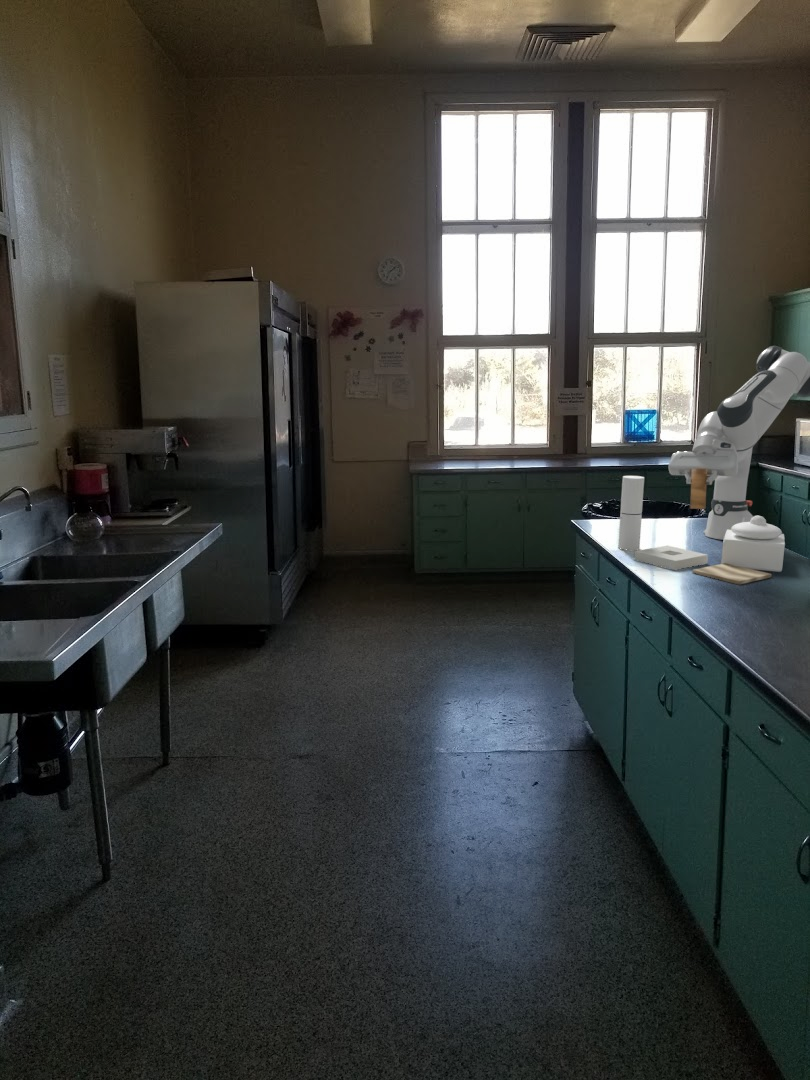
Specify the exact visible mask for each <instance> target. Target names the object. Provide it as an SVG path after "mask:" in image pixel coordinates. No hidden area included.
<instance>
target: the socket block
mask: <svg viewBox="0 0 810 1080" xmlns="http://www.w3.org/2000/svg"><path fill="white" fill-rule="evenodd" d="M708 558H709V554H707V553H701V552H698V551H694V550H689V549H684V548H680V547H676V546H671V545H663V546H657V547H652V548H650V547H649V548H645V549H639V550H635V551H634V561H636V560H638V561H637V562H640V561H641V563H644V562H645V564H648V563H649V565H652V564H654V565H653V566H656V565H657V567H660V566H662V567H661V568H664V567H666V568H665V569H668V568H670V569H669V570H671V569H673V570H672V571H677V570H676V569H679V570H682V569H681V568H684V569H687V568H686V567H689V568H693V567H692V566H694V567H698V565H699V566H703V565H708V562H709V561H708Z"/></svg>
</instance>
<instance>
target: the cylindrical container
mask: <svg viewBox="0 0 810 1080" xmlns="http://www.w3.org/2000/svg"><path fill="white" fill-rule="evenodd" d="M621 482H622V483H621V498H620V512H619V513H620V516H619V530H618V545H617V548H618V549H619V548H621V549H620V550H622V549H627V550H626V551H628V550H635V551H638V550H637V549H639V550H640V545H641V544H640V543H641V533H642V532H641V531H642V529H641V528H642V516H643V513H642V512H643V503H644V499H643V498H644V486H645V476H640V475H623V476H622V481H621Z"/></svg>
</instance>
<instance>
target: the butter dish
mask: <svg viewBox="0 0 810 1080" xmlns="http://www.w3.org/2000/svg"><path fill="white" fill-rule="evenodd" d="M785 546H786V542H785V534H784V533H783V532H782V529H780V528H779V527H778V526H775V525H774V524H770V523H767V519H765V517H764V516H761V515H760V514H759V515H753V518H751V521H750V522H742V523H738V524H735V525H733V526H732V528H731V530H728V529H727V531H726V534H725V537H724V540H723V542H722V552H721V562H720V564H724V563H726V564H731V565H735V566H739V567H744V568H748V569H752V570H756V571H768V572H778V573H782V571H783V565H784V564H783V563H784V555H785Z"/></svg>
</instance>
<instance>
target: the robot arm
mask: <svg viewBox="0 0 810 1080" xmlns="http://www.w3.org/2000/svg"><path fill="white" fill-rule="evenodd" d="M807 359H808V358H807V357H805V356H804V355H803V354H802V353H799V352H797V351H788V350H785V349H783V347H780V346H777V345H771V346H769V347H767V348H766V349H764V350H763V351H761V353H760V354H759V355H758V357H757V360H756V364H755V369H756V371H757V373H756V374H755V375H753V376H752V377H751V378H749V380H747V381H746V382H745V383H744V384H743V385H742V386H741V387H740V388H739V389H737V391H735V392H734V393H733V394H731V395H730V396H728V397H726V398H725V399H724V400H722V402H720V404H719V406H718V407H717V409H716V410H715V411H711V412H709V413H707V414H706V415H705V416H704V418H703V419H702V420H701V422H700V424H699V427H698V428H697V429H698V430H697V433H696V438H695V441H694V443H693V445H692V446H693V447H692V450H689V451H688V450H687V451H686V450H685V451H681V450H680V451H677V452H674V453H672V455H671V457H670V461H669V463H668V471H669V472H668V473H669V474H670V475H671V476H684V477H685V479H686V480H685V482H686V485H691V475H692V469H707V479H706V485H710V486H712V484H713V482H714V489H713V498H712V499H711V503H710V504H711V511H709V513H708V518H707V522H706V528H705V529H704V530H703V534H705V536H706V537H707V538H711V539H714V540H715V539H716V540H723V541H724V537H725V534H726V531H727V529H728V530H731V528H732V526H733V525H735V524H738V523H742V522H750V521H751V518H753V517H754V515H753V514H752V513H751V512H750V511H749V510H748V508H749V507H752V505H753V500H746V498H747V497H746V496H747V489H748V488H747V487H748V479H749V474H750V467H751V466H750V465H751V460H752V454H753V447H754V446H755V445H756V444H757V443H758V441H759V440H760V439H761V437H762V436H763V435H764V434H765V432H766V431H768V429H769V428H770V427H771V425H772V424H773V422H774V421H775V420H776V419H777V417H778V416H779V414H780V413H781V412H782V411H783V409H784V408H785V406H786V405H787V403H788V402H789V400H790V399H791V397H792V396H793V395H794V394H795V397H794V398H810V361H808V360H807Z"/></svg>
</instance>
